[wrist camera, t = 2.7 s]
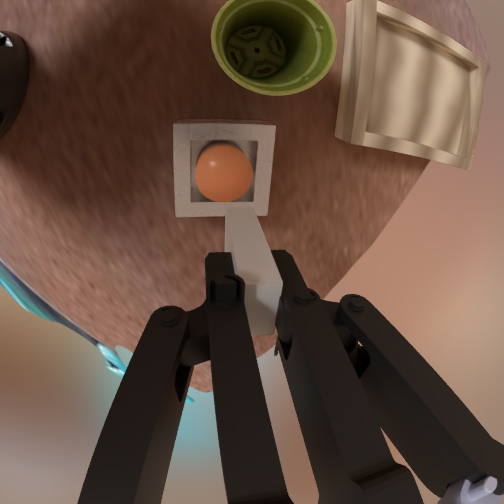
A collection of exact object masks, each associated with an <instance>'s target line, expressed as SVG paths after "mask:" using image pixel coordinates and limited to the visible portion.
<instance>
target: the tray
mask: <svg viewBox="0 0 504 504" xmlns="http://www.w3.org/2000/svg"><path fill="white" fill-rule="evenodd" d="M484 77H485V62H484V61H482V60H481V59H480V58H478V57H477V56H476V55H474V54H473V53H472V52H470V51H469V50H467V49H466V48H465V47H463V46H462V45H460V44H459V43H457V42H456V41H454V40H453V39H451V38H449V37H448V36H446V35H445V34H443V33H441V32H440V31H438V30H436V29H435V28H433V27H431V26H429V25H428V24H426V23H424V22H422V21H420V20H418V19H416V18H414V17H412V16H410V15H408V14H406V13H404V12H402V11H400V10H398V9H396V8H394V7H391V6H389V5H387V4H384V3H382V2H380V1H377V0H353V1H350V2H348V3H347V9H346V28H345V42H344V55H343V66H342V77H341V86H340V95H339V104H338V112H337V119H336V127H335V134H334V137H337V138H339V139H341V140H343V141H345V142H348V143H350V144H355V145H361V146H367V147H373V148H378V149H384V150H389V151H394V152H399V153H403V154H408V155H412V156H417V157H421V158H425V159H429V160H433V161H437V162H441V163H445V164H448V165H452V166H455V167H459V168H462V169H465V170H470V167H471V162H472V158H473V154H474V149H475V144H476V139H477V134H478V128H479V122H480V115H481V108H482V100H483V90H484Z"/></svg>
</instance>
